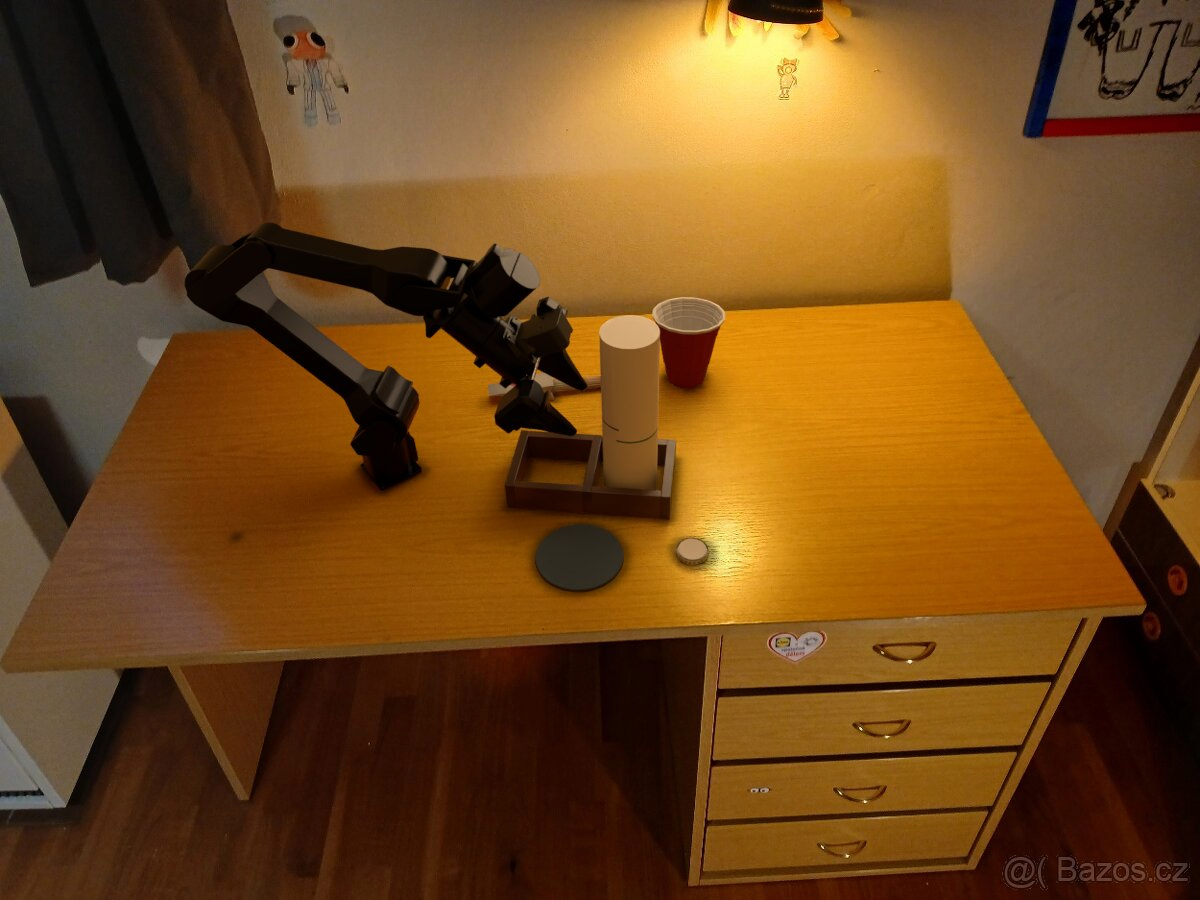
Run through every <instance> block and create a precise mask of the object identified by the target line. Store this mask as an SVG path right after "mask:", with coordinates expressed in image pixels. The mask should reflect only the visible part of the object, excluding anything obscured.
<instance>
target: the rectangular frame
mask: <svg viewBox="0 0 1200 900" xmlns="http://www.w3.org/2000/svg"><path fill="white" fill-rule="evenodd" d="M676 452H677V439H669V438H668V439H666V438H658V453H657V467H663V477H662V485H661V490H659V489H656V490H646V489H631V488H617V487H604V486H601V485H599V478H600V474H601V468H602V464H603V434H589V433H576V434H575V435H574V436H566V435H561V434H557V433H552V432H547V431H542V430H526V429H521V430H520V433H519V436H518V440H517V443H516V447H515V450H514V452H513V456H512V458H511V459H512V460H511V463H510V467H509V469H508V473H507V476H506V479H505V483H504V493H505V502H506V508H508V509H520V510H521V509H523V510H524V509H525V510H536V511H550V512H562V513H563V512H566V513H579V514H593V515H603V516H620V517H630V518H631V517H633V518H645V519H661V520H671V509H672V501H673V500H672V499H673V490H674V478H675V471H676V456H677V455H676V454H677V453H676ZM531 458H532V459H547V460H561V461H562V460H563V461H564V460H565V461H578V462H579V461H580V462H587V465H586V470H585V474H584V480H583V484H571V483H555V482H541V481H529V480H527V481H526V480H525V477H526V473H527V471H528V466H529V463H530V459H531Z"/></svg>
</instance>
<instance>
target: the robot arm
mask: <svg viewBox="0 0 1200 900" xmlns="http://www.w3.org/2000/svg"><path fill="white" fill-rule="evenodd" d="M266 270H273V271H274V270H275V271H279V272H284V273H288V274H292V275H297V276H301V277H305V278H310V279H314V280H319V281H322V282H326V283H331V284H336V285H340V286H344V287H348V288H353V289H356V290H361V291H364V292H367V293H370V294H372V295H373V296H374V297H375V298H376V299H378V300H379V302H381V303H383V304H384V305H385V306H387V307H388V308H389V307H390V308H391V309H394V310H397V311H400V312H401V313H405V314H408V315H410V316H413V317H422V319H423V322H424V325H425V337H426V338H427V339H431V338H433V337H434V336H435V335H436V334H437V333H438V332H439V331H440V330H442V331H443V332H444V333H446V334H447V335H448V336H449V337H451V338H452V339H453V340H454V341H456V342H457V343H459V344H460V345H461V347H463V348H465V349H466V350H467V351H468V352H470V353H471V354H472V355H473V356H474V357H475V358H474V362H473V365H475V366H476V367H477V368H478V369H481V368H482V367H484V365H486V366H487V367H489V368H490V369H491V370H492V371H494V373H496V374H497V375H498V376H500V377H501V378H500V381H499V382H500V383H499V382H498V383H499V384H500V385H501V386H502V387H504V388H505V389H506V388H507V387H508V386H510V385H511V384H512V383H513V384H514V385H515V384H516V385H515V386H514V387H513V388H512V389H511V390H510V391H508V392H507V393H506V394H505V395H504V396H502V397H500V398H499V400H498V403H497V406H496V409H495V412H494V414H493V415H494V416H493V418H494V424H495V426H497V427H498V428H499V429H501V430H502V431H504V432H505V433H506V434H507V435H510V434H511V433H512V432H513V431H515V432H518V431H520V429H525V430H526V429H528V430H534V431H542V432H552V433H557V434H561V435H566V436H574V435H575V434H578V429H577V428H576V427H575V426H574V425H573V424H572V423H571V421H570V420H568V419H567V418H566V417H565V416H564V415H563V414H562V413H561V412H560V411H559V410H558V409H556V408H555V407H554V405H553V404H551V400H550V396H549V391H548V390H547V391H546V392H545V393H544V391H543V389H542V387H541V385H540V384H539V383H537V382H536V381H535V380H534V378H535V375H536V374H537V372H538V371H540V373H545V374H547V375H549V376H551V377H552V379H557V380H559V381H561V382H563V383H565V384H567V385H569V386H571V387H573V388H575V389H577V391H580V392H584V391H585V390H587V389H586V388H587V384H586V382H585V381H584V379H583V377H584V376H582V375H581V373H580V371H579V370H578V368H577V366H576V365H575V364H574V362H573V360H572V358H571V356H570V355H569V353H568V352H567V348H568V347H569V346H570V343H571V341H570V339H571V336H572V333H573V332H574V328H573V327H572V325H571V323H570V321H569V320H568V318H567V316H568V313H569V311H568V309H567V308H566V307H563V306H562V304H560V302H557V301H556V300H554V299H553V298H552V297H550V296H546V297H542V298H541V299H539V300H538V302H537V304H536V314H535V313H533V314H531V317H530V319H527V320H525V321H522V320H521V319H520V318H519V317H517V316H514V315H512V314H510V313H511V312H513V310H514V309H516V308H517V307H518V306H519V305H520V304H521V303H523V302H524V300H526V298H528V297H529V296H530V295H531V294H532V293H533V292H535V290H536V289H537V288H538V287H539V286H540V284H541V278H540V274H539V271H538V269H537V267H536V266H535V264H534V263H533V262H532V260H531V259H530V258H529V257H528V256H527V255H526V254H524V253H523V252H519V251H517V250H515V249H512V248H508V247H507V248H502V247H501V246H500V245H499V244H497V243H493V244H492V245H491V246H490V247H489V248H488V249H487V251H486V252H485V254H484V255H483V256H482V257H481V259H479V261H476V260H475V259H469V258H463V257H457V256H451V255H446V254H441V253H440V252H438V251H437V250H434V249H433V248H426V247H416V246H414V247H413V246H397V247H391V248H386V249H385V248H384V249H378V248H377V249H375V248H369V247H365V246H361V245H356V244H353V243H348V242H343V241H339V240H334V239H330V238H326V237H322V236H317V235H314V234H309V233H305V232H301V231H297V230H292V229H287V228H284V227H282V226H281V225H280V224H278V223H275V222H272V221H271V222H270V221H268V222H264V223H260V224H259V225H257V226H256V227H255V228H254V229H253V230H252V231H250V232H248V233H246V234H243V235H241V236H240V237H239V238H237V239H236V240H235V241H234V242H232V243H231V244H218V245H214V246H213V247H211V248H210V249H209V250H208V251H206V253H205V254H204V255H203V256H202V257H201V259H199V261H198V262H197V263H196V264H195V265H194V266H193V267H192V268H191V270H189V272H188V273H187V274H186V276H185V278H184V288H185V291H186V297H187V298H188V299H189V301H190V302H191V303H192V304H193V305H194V306H196V307H197V308H199V309H200V310H202V311H204V312H206V313H207V314H209V315H211V316H213V317H215V318H216V319H217V320H219V321H221V322H224V323H230V324H235V325H240V326H244V327H248V328H250V329H252V330H253V331H254V332H255V333H256V334H258V335H259V336H260V337H262V338H263V339H265V340H266V341H267V342H269V343H270V344H271V345H272V346H274V347H275V348H276V349H278V350H279V351H281V352H282V353H283V354H284V355H285V356H287V357H289V358H290V359H291V360H292V361H294V362H295V363H296V364H297V365H299V366H300V367H301V368H303V369H304V370H305V371H306V372H308V373H309V374H311V375H312V376H313V377H314V378H315V379H317V380H318V381H319V382H321V383H323V384H324V385H325V386H326V387H328V389H330V390H331V391H333V392H334V393H335V394H336V395H338V396H339V397H340V398H342V399H343V401H344V403H345V405H346V407H347V409H348V411H349V413H350V415H351V417H352V419H353V422H355V423H356V425H358V428H357V429H356V431H355V433H354V435H353V437H352V439H351V441H350V443H349V446H350V447H351V448H352V449H353V451H354V452H355V454H356V455H357V456H361V457H362V458H361V459H362V461H363V463H361V464H360V469H361V470H362V471H363V472H364V473H365V475H366V476H367V477H368V478H369V479H370V481H371V482H372V483H373V484H374V485H375V486H376V488H378V489H379V491H380V492H381V491H382V492H384V491H386V490H388V489H390V488H393V487H394V486H397V485H398V484H402V483H403V482H405V481H407V480H409V479H411V478H413V477H416V476H417V475H419V474H421V473H422V472H423V468H422V466H421V465H420V464H418V461H419V454H418V449H417V445H416V441H415V438H414V437H413V435H412V434H410V431H409V430H410V428H411V426H412V424H413V421H414V418H415V417H416V414H417V412H418V410H419V407H420V402H421V401H420V394H419V393H418V391H417V389H415V388H414V386H413V385H414V382H413V381H411V380H409V379H407V378H406V377H404V376H402V375H401V374H400V373H399V372H398V371H397V369H395V368H394V367H392V366H390V365H387V366H386V367H385V369H384V370H377V369H373V368H372V369H371V368H369V367H366V366H365V365H363V364H362V363H361V362H360V361H359V360H357V359H356V358H355V357H353V356H352V355H351V354H349V352H347V351H346V350H344V348H342V347H340V346H339V345H338V344H337V343H336V342H335V341H333V340H332V339H331V338H329V337H328V336H327V335H325V334H324V333H323V332H321V331H320V330H319V329H318V328H317V327H316V326H314V325H313V324H312V323H311V322H309V321H308V320H306V319H305V318H304V317H303V316H302V315H300V313H297V311H295V310H294V309H293V308H291V306H289V305H287V304H286V303H285V302H283V300H281V299H280V298H279V297H278V296H277V295H276V294H275V293H274V291H273V288H272V287H271V285H270V283H269V281H268V279H267V277H266V274H265V271H266ZM451 279H452V281H451ZM509 314H510V315H509ZM508 315H509V316H508ZM506 316H508V317H507V318H504V317H506Z"/></svg>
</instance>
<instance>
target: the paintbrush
mask: <svg viewBox="0 0 1200 900" xmlns="http://www.w3.org/2000/svg"><path fill="white" fill-rule="evenodd" d="M582 377H583V379H584V381H585V382H586V384H587V388H586V389H585V390H589V389H601V375H596V376H582ZM534 380H535V381H536V382H537V383H539V384H540V385H541V387H542V389H543V391H544V393H545V392H546V391H547V390H548V391H549V396H550V401H555V397H554V392H566V391H576V390H577V389H575V388H573V387H571V386H569V385H567V384H565V383H563V382H561V381H559V380H557V379H555V378H553V377H551V376H549V375H547V374H545V373H543V372H539V373H536V375H535V378H534ZM499 383H500V381H499V382H495V383H491V384H487V391H488V396H489V397H500V398H501V397H502V396H504V395H505V394H506V393H507V392H508V391H510V390H511V389H512V388H513V387H514V386H515V385H516V384H515V385H514V384H513V383H512V384H511V385H510V386H508V387H507V388H506V389H505V388H504V387H502V386H501V385H500V384H499ZM577 391H578V390H577Z"/></svg>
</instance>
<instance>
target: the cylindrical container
mask: <svg viewBox="0 0 1200 900" xmlns="http://www.w3.org/2000/svg"><path fill="white" fill-rule="evenodd" d="M598 333H599V334H598V337H599V338H598V339H599V340H598V341H599V366H600V367H599V369H600V373H599V374H600V376H601V388H600V398H601V402H600V403H601V428H602V429H601V430H602V435H603V462H602V464H603V487H617V488H631V489H646V490H658V466H657V453H658V439H659V402H660V400H659V397H660V396H659V395H660V355H661V354H660V351H661V349H660V348H661V344H660V329H659V327H658V325H657V324H656V322H655V321H654V320H653V319H652V320H651V319H650V318H648V317H645V316H641V315H633V314H627V315H626V314H625V315H619V316H615V317H613V318H610V319H608V320H607V321H605V322H604V323H602V324H601V326H600V328H599V331H598Z"/></svg>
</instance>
